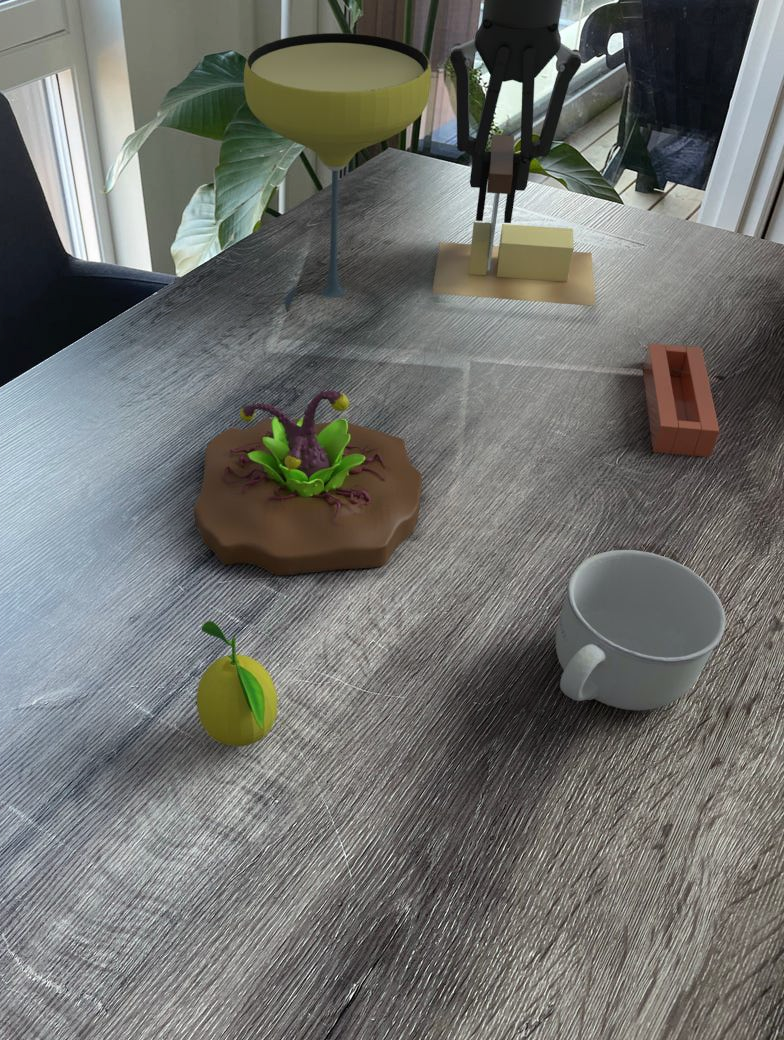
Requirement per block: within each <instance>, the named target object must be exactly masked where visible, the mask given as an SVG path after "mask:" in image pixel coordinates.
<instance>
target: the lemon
mask: <svg viewBox="0 0 784 1040" xmlns="http://www.w3.org/2000/svg"><path fill="white" fill-rule="evenodd" d="M201 632H203V633H206V634H207V635H210V636H212V637H215V638H217V639H221V640H222V641H223V642H224V643H226V644H227V645H228V646H231V654H229V655H224V656H222V657H220V658H218V659H216V660H215V661H213V662H212V663H211V664H210V665H209V666H208V667H207V668H206V669H205V671H204V672H203V674H202V676H201V678H200V679H199V682H198V686H197V692H196V693H197V695H196V710H197V714H198V718H199V722H200V725H201V726H202V727H203V729H204V730H205V732H206V733H207V734H208V736H209V737H210V738H212V740H215V741H216V742H218V743H219V744H222V745H227V746H230V747H245V746H249V745H253V744H255V743H257V742H259V741H262V740H263V739H264V737H266V735H268V733H269V732H270V731H271V730H272V727H273V726H274V723H275V720H276V718H277V716H278V693H277V689H276V686H275V683H274V682H273V681H274V680H273V679H272V676H271V674H270V672H268V671H267V669H266V668H265V667H264V666H263V665H262V664H261V663H260V662H259V661H258V660H256V659H254V658H252V657H250V656H248V655H243V654H239V653H238V654H237V653H236V651H237V650H236V637H235V636H234V637H232V638H231V640H228V639H227V638H226V636H225V634H224V633H223V631H222V629H221V628H220V626H219V625H218V624H216V623H215V622H214V621H213V620H212V621H211V620H209V621H205V623H203V624H202V626H201Z"/></svg>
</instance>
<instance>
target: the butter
mask: <svg viewBox="0 0 784 1040" xmlns="http://www.w3.org/2000/svg"><path fill="white" fill-rule="evenodd" d="M498 246H499V251H498V259H497V275H496V277H506V278H519V279H532V280H546V281H559V282H567V281H568V276H569V271H570V266H571V260H572V255H573V252H574V250H575V244H574V229H573V228H566V227H553V226H537V225H523V224H511V223H502V224H501V229H500V237H499V245H498Z"/></svg>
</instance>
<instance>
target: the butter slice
mask: <svg viewBox="0 0 784 1040" xmlns="http://www.w3.org/2000/svg"><path fill="white" fill-rule="evenodd" d="M490 232H491V222H482V221H474V222H473V226H472V235H471V243H470V244H471V253H470V262H469V272H468V274H469V275H484V276H485V275H486V270H487V261H488V253H489V244H490Z"/></svg>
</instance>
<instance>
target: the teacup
mask: <svg viewBox="0 0 784 1040" xmlns="http://www.w3.org/2000/svg"><path fill="white" fill-rule="evenodd" d="M726 619H727V618H726V612H725V608H724V606H723V604H722V601H721V599H720V598H719V596H718V595H717V594H716V592H715V591H714V589H713V588H712V587H711V586H710V585H709V584H708V583H707V582H706V580H704V579H703V578H702V577H701V576H699V575H698V574H697V573H696V572H695V571H694V570H692V569H691V568H689V567H688V566H686V565H683V564H681V563H679V562H678V561H675V560H673V559H671V558H670V557H666V556H663V555H660V554H657V553H653V552H648V551H643V550H635V549H619V550H618V549H616V550H609V551H603V552H600V553H597V554H594V555H592V556H590V557H588V558H586V559H585V560H583V561H581V562H580V563H579V564H578V566H576V567H575V570H573V572H572V574H571V575H570V577H569V580H568V583H567V590H566V595H565V598H564V601H563V604H562V607H561V611H560V614H559V619H558V620H557V621H558V622H557V626H556V632H555V651H556V656H557V658H558V662H559V664H560V667H561V668H562V670H563V673H562V675H561V678H560V682H559V688H560V691H562V693H563V694H564V695H565V696H567V697H568V698H570V699H572V700H573V701H576V702H582V701H583V702H584V701H592V700H596V701H597V702H601V703H602V704H604V705H607V706H610V707H614V708H617V709H621V710H629V711H649V710H654V709H659V708H663V707H665V706H667V705H669V704H672V703H674V702H675V701H677V700H678V699H680V698H681V697H682V696H684V695H685V694H686V693H687V692H688V691H689V690H690V688H691V687H692V686H693V685H694V683H695V682H696V680H697V679H698V677H699V675H700V674H701V672H702V671H703V669H704V667H705V666H706V665H707V662H708V660H709V658H710V657H711V654H712V653H713V651H714V649H715V648H716V647H717V645H719V643H720V642H721V640H722V638H723V636H724V633H725V630H726V621H727V620H726Z"/></svg>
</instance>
